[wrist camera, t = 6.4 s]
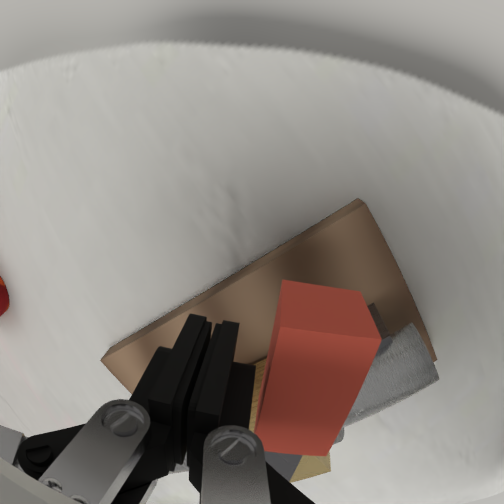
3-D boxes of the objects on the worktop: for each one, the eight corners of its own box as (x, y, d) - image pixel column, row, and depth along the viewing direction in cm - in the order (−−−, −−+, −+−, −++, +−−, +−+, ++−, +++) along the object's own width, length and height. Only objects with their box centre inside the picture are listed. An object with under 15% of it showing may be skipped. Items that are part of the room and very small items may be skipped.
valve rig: (358, 198, 19) (429, 253, 9) (428, 345, 22) (481, 443, 12) (110, 347, 25) (46, 430, 15) (204, 441, 28) (179, 526, 18)
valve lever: (281, 493, 14) (279, 530, 12) (235, 487, 15) (228, 524, 12) (363, 291, 10) (385, 339, 7) (279, 278, 10) (276, 325, 7)
